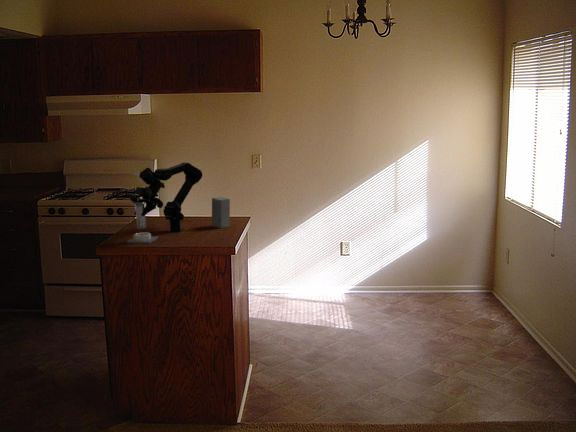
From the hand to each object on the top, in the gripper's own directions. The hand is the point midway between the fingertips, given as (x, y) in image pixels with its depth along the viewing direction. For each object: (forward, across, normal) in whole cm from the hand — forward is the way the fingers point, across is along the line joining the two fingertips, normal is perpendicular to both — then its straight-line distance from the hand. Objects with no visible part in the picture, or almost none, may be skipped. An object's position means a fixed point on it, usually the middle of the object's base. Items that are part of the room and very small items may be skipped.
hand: (138, 215), depth 316 cm
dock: (+8, 0, +10) cm, 13 cm away
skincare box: (-22, +16, +41) cm, 49 cm away
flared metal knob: (+4, 0, +6) cm, 7 cm away
